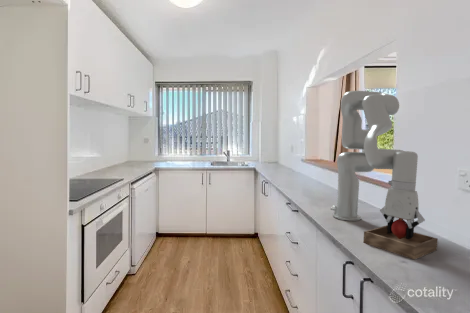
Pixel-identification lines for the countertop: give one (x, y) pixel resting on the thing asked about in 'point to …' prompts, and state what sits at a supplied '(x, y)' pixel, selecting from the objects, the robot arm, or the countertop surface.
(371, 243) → the holder tray
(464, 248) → the countertop surface
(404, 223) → the onion
